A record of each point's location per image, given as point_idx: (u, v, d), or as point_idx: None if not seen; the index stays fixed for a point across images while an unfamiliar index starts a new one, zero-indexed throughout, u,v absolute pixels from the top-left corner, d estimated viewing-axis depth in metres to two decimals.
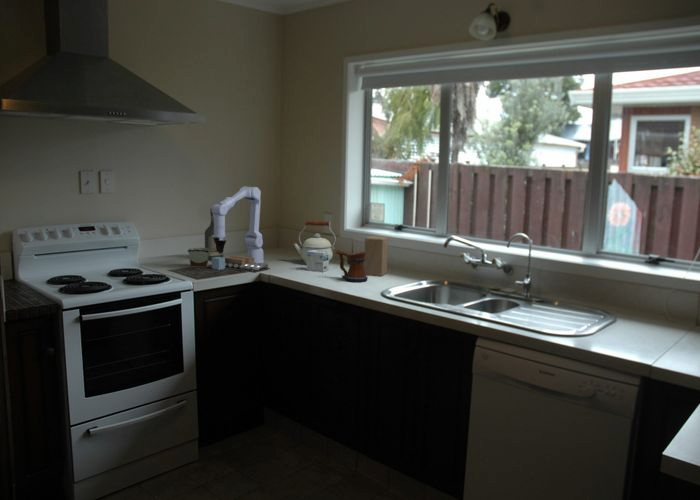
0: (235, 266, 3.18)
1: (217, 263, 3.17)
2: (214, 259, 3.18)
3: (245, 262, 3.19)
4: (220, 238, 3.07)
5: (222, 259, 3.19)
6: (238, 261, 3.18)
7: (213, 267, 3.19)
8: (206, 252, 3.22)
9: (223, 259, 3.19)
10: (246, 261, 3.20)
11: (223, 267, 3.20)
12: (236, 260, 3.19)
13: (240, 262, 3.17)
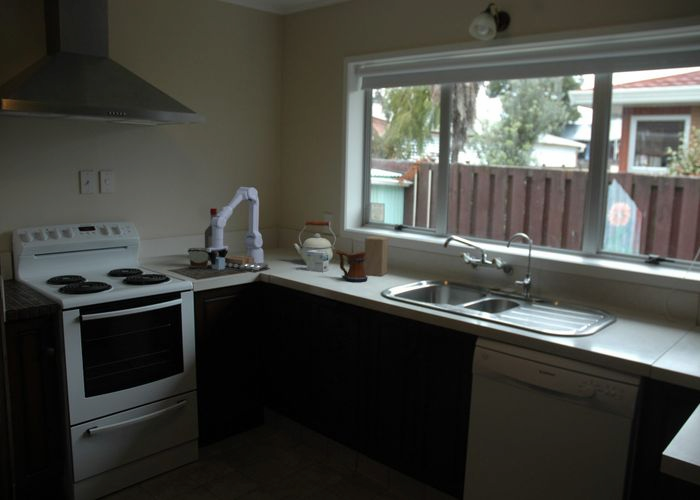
0: (235, 266, 3.18)
1: (217, 263, 3.17)
2: None
3: (245, 262, 3.20)
4: (207, 249, 3.12)
5: (222, 259, 3.19)
6: (238, 261, 3.18)
7: (213, 267, 3.19)
8: (206, 252, 3.22)
9: (223, 259, 3.19)
10: (246, 261, 3.20)
11: (223, 267, 3.20)
12: (236, 260, 3.19)
13: (240, 262, 3.18)
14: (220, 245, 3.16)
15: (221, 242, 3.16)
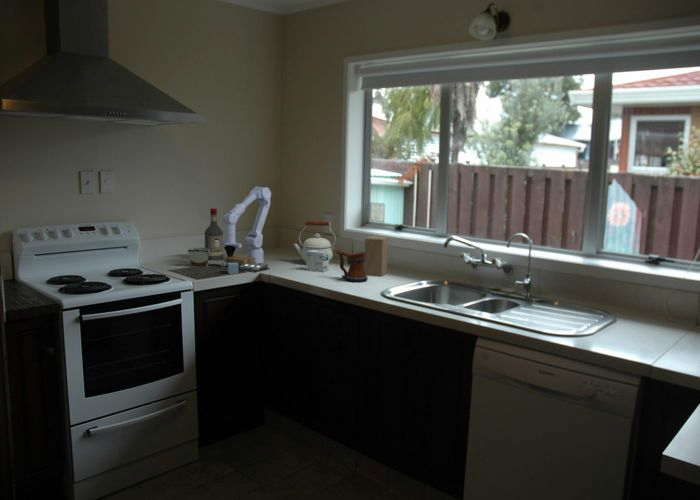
0: None
1: None
2: None
3: (247, 262, 3.20)
4: (239, 245, 3.22)
5: (232, 264, 3.07)
6: (240, 261, 3.18)
7: None
8: (206, 252, 3.22)
9: (231, 264, 3.07)
10: (248, 261, 3.21)
11: None
12: (238, 260, 3.19)
13: (242, 262, 3.18)
14: None
15: None
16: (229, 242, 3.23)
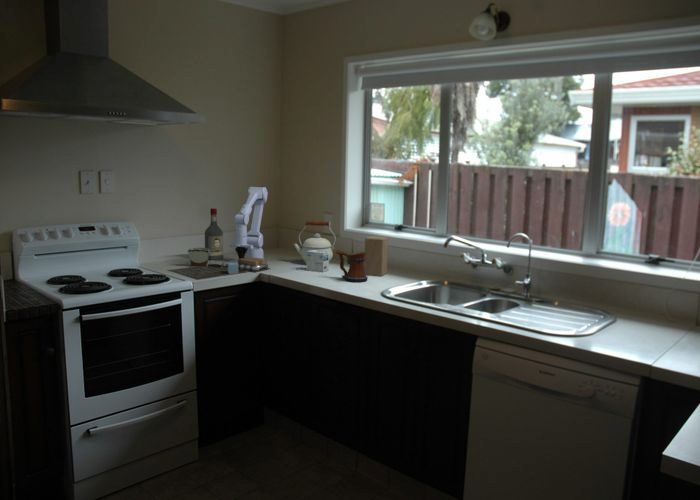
0: None
1: None
2: None
3: (258, 263, 3.16)
4: (251, 247, 3.18)
5: (232, 264, 3.07)
6: (251, 262, 3.15)
7: None
8: (206, 252, 3.22)
9: (231, 264, 3.07)
10: (259, 262, 3.17)
11: None
12: (249, 261, 3.15)
13: (254, 264, 3.14)
14: None
15: None
16: (240, 243, 3.19)
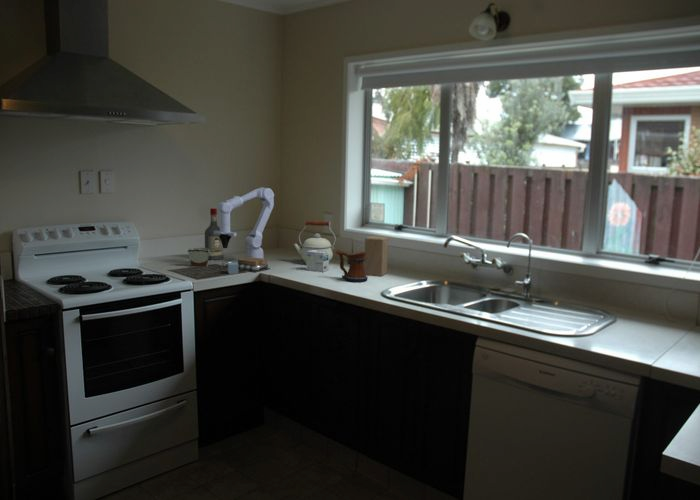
0: None
1: None
2: None
3: (258, 264, 3.16)
4: (234, 234, 3.23)
5: (232, 264, 3.07)
6: (251, 263, 3.15)
7: None
8: (206, 252, 3.22)
9: (231, 264, 3.07)
10: (259, 262, 3.17)
11: None
12: (249, 262, 3.15)
13: (254, 264, 3.14)
14: None
15: None
16: (224, 231, 3.24)
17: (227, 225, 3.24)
